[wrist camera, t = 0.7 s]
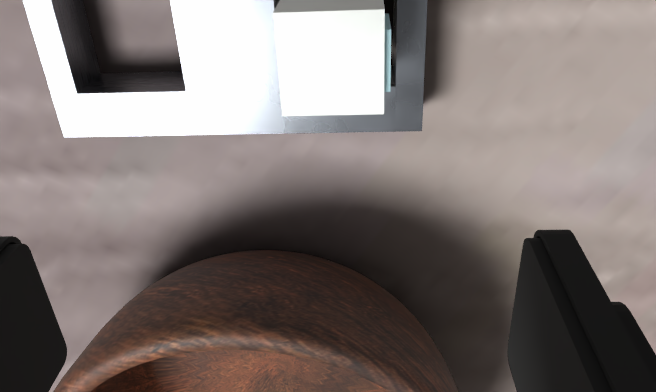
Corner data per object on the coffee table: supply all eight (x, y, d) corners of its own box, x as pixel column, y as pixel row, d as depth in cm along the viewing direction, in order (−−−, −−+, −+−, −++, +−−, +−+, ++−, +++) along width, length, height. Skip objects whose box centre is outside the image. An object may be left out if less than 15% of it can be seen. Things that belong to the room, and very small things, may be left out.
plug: (384, -32, 28) (391, 9, 21) (384, 52, 30) (390, 114, 23) (295, -28, 28) (272, 12, 21) (300, 54, 30) (282, 116, 23)
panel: (424, -104, 26) (432, -99, 23) (417, 107, 31) (422, 132, 28) (33, -87, 27) (-4, -79, 24) (87, 114, 32) (62, 139, 29)
